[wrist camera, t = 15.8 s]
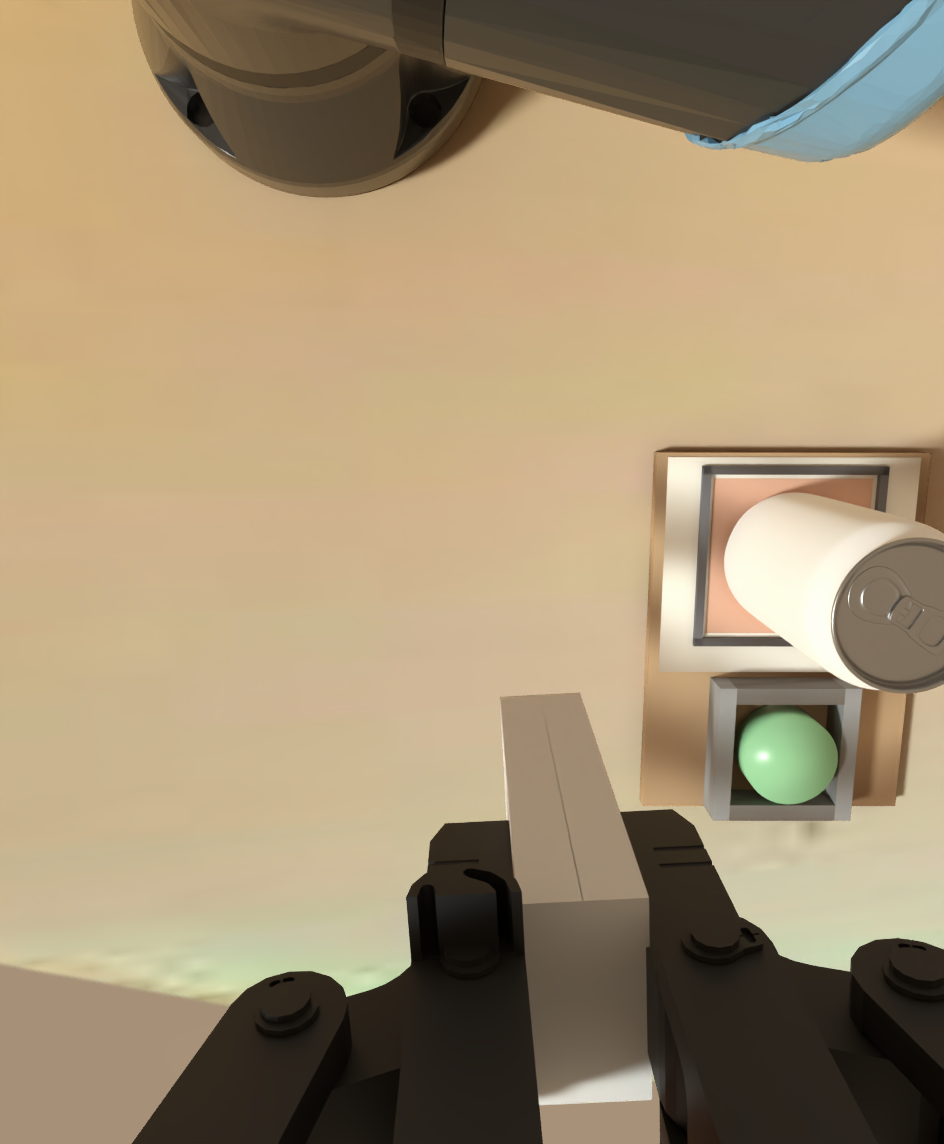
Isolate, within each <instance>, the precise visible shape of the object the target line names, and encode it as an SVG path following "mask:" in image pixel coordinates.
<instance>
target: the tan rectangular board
mask: <svg viewBox="0 0 944 1144" xmlns="http://www.w3.org/2000/svg"><path fill="white" fill-rule="evenodd" d="M930 460H931V453H923V452H654V472H653V496H652V520H651V543H650V567H649V590H648V614H647V638H646V661H645V685H644V709H643V732H642V756H641V779H640V801H641V803H642V805H643V806H705V808H706V810H707V812H708V813H709V815H710V817H711V818H712V820H713V821H850V819H851V808H852V806H895V801H896V792H897V782H898V772H899V762H900V753H901V743H902V733H903V723H904V714H905V704H906V694H899V693H891V692H886V691H882V690H872V689H866V688H862V687H858V686H855V685H852V684H850V683H848V682H846V681H844V680H841V679H840V678H838V677H836V676H835V675H833V674H832V673H830V672H829V671H827V670H826V669H824V668H823V667H821V666H820V665H819V664H817V663H816V662H814V661H813V660H812V659H810V658H809V657H808V656H806V655H805V654H803V653H802V652H801V651H799V650H798V649H797V648H795V647H794V646H793V645H791V644H790V643H789V642H787V641H786V640H785V639H783V638H782V637H780V636H779V635H778V634H776V633H775V632H774V631H772V630H771V629H770V628H768V627H767V626H766V625H764V624H763V623H762V622H760V621H759V620H758V619H757V618H755V617H754V616H753V615H751V614H750V613H749V612H748V611H747V610H745V609H744V608H743V607H742V606H741V605H740V604H739V602H738V601H737V600H736V599H735V597H734V596H733V594H732V592H731V590H730V588H729V586H728V583H727V580H726V576H725V570H724V555H725V550H726V546H727V543H728V540H729V537H730V535H731V533H732V531H733V529H734V527H735V525H736V524H737V522H738V521H739V519H740V518H741V517H742V516H743V515H744V514H745V513H746V512H747V511H748V510H749V509H750V508H752V507H753V506H754V505H756V504H758V503H759V502H761V501H763V500H765V499H767V498H770V497H772V496H775V495H779V494H784V493H808V494H813V495H818V496H822V497H826V498H830V499H834V500H838V501H842V502H846V503H850V504H854V505H858V506H861V507H865V508H869V509H873V510H877V511H880V512H884V513H888V514H892V515H895V516H899V517H903V518H906V519H910V520H913V521H917V522H920V523H923V524H924V518H925V509H926V499H927V489H928V479H929V470H930ZM767 705H793V706H796V707H798V708H801V709H802V710H804V711H805V712H807V713H808V714H809V715H810V716H811V717H812V718H813V719H815V720H816V721H817V722H818V723H819V724H820V725H821V726H822V727H823V728H824V729H826V730H827V731H828V733H829V734H830V735H831V737H832V738H833V740H834V742H835V744H836V748H837V753H838V763H837V768H836V772H835V774H834V776H833V779H832V780H831V782H830V783H829V785H828V786H827V787H826V788H825V789H824V790H823V791H822V792H821V793H820V794H818V795H817V796H815V797H814V798H812V799H810V800H808V801H805V802H802V803H797V804H780V803H776V802H773V801H770V800H768V799H766V798H764V797H763V796H761V795H760V794H759V793H758V792H757V791H756V790H755V789H754V788H753V786H752V785H751V784H750V782H749V781H748V780H747V778H746V777H745V776H744V774H743V773H742V772H741V770H740V769H739V767H738V765H737V763H736V761H735V757H734V752H733V750H734V738H735V735H736V732H737V730H738V728H739V726H740V725H741V723H742V722H743V721H744V719H745V718H746V717H747V716H749V715H750V714H751V713H752V712H754V711H755V710H757V709H759V708H761V707H764V706H767Z"/></svg>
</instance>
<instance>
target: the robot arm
mask: <svg viewBox="0 0 944 1144" xmlns="http://www.w3.org/2000/svg"><path fill="white" fill-rule="evenodd" d="M132 7H133V13H134V19H135V24H136V28H137V32H138V36H139V39H140V42H141V45H142V49H143V51H144V54H145V56H146V59H147V62H148V64H149V66H150V68H151V70H152V73H153V75H154V77H155V79H156V81H157V83H158V84H159V86H160V88H161V90H162V92H163V94H164V95H165V97H166V98H167V100H168V101H169V103H170V104H171V106H172V107H173V109H174V110H175V111H176V113H177V114H178V115H179V117H180V118H181V119H182V120H183V121H184V123H185V124H186V125H187V126H188V127H189V128H190V129H191V130H192V131H193V132H194V133H195V134H196V135H197V136H198V137H199V138H200V139H201V140H202V141H203V142H204V143H205V144H206V146H207V147H208V148H209V149H210V150H212V151H213V152H214V153H215V154H216V155H217V156H218V157H220V158H221V159H222V160H223V161H225V162H226V163H227V164H229V165H230V166H231V167H233V168H234V169H236V170H237V171H239V172H240V173H242V174H244V175H246V176H247V177H249V178H251V179H253V180H255V181H257V182H259V183H261V184H264V185H266V186H269V187H271V188H274V189H277V190H280V191H284V192H287V193H292V194H297V195H302V196H310V197H343V196H351V195H356V194H361V193H365V192H369V191H372V190H375V189H378V188H381V187H384V186H386V185H388V184H391V183H393V182H395V181H397V180H399V179H401V178H402V177H404V176H406V175H408V174H409V173H411V172H412V171H414V170H415V169H417V168H418V167H420V166H421V165H422V164H423V163H425V162H426V161H427V160H429V159H430V158H431V157H432V156H433V155H434V154H435V153H436V152H437V151H438V150H439V149H440V148H441V147H442V146H443V145H444V144H445V143H446V142H447V141H448V139H449V138H450V137H451V136H452V134H453V133H454V132H455V131H456V129H457V128H458V126H459V125H460V123H461V122H462V120H463V119H464V117H465V115H466V114H467V112H468V110H469V109H470V107H471V105H472V103H473V101H474V98H475V96H476V94H477V92H478V89H479V87H480V84H481V81H482V78H487V79H491V80H494V81H498V82H502V83H505V84H509V85H513V86H516V87H520V88H523V89H527V90H531V91H534V92H538V93H542V94H545V95H549V96H553V97H556V98H560V99H563V100H567V101H571V102H574V103H578V104H582V105H585V106H589V107H593V108H596V109H600V110H604V111H607V112H611V113H614V114H618V115H622V116H625V117H629V118H633V119H636V120H640V121H644V122H647V123H651V124H654V125H658V126H662V127H665V128H669V129H673V130H676V131H680V132H684V133H685V135H686V137H687V139H688V140H689V141H691V142H692V143H694V144H697V145H699V146H701V147H705V148H708V149H715V150H721V149H737V148H744V149H749V150H753V151H757V152H762V153H766V154H771V155H775V156H780V157H784V158H789V159H793V160H797V161H803V162H824V161H829V160H832V159H834V158H843V157H848V156H850V155H852V154H857V153H861V152H864V151H867V150H869V149H871V148H873V147H875V146H877V145H878V144H880V143H882V142H884V141H886V140H887V139H889V138H890V137H892V136H893V135H895V134H896V133H898V132H900V131H901V130H903V129H904V128H905V127H907V126H908V125H910V124H911V123H912V122H914V121H915V120H916V119H917V118H919V117H920V116H921V115H922V114H924V113H925V112H926V111H927V110H928V109H929V108H931V107H932V106H933V105H934V104H935V103H936V102H937V101H939V100H940V99H941V98H942V97H943V96H944V0H132ZM500 707H501V725H502V744H503V763H504V781H505V800H506V818H507V820H505V821H485V822H466V823H447V824H444V826H443V827H442V828H441V829H440V830H439V832H438V833H437V834H436V835H435V836H434V838H433V839H432V840H431V841H430V849H429V859H428V870H427V873H426V874H424V875H423V876H422V877H421V878H420V879H418V880H417V881H416V882H415V883H413V884H412V886H411V888H410V890H409V893H408V895H407V897H406V901H407V913H408V925H409V937H410V949H411V966H410V967H409V968H408V969H406V970H405V971H404V972H403V973H402V974H401V975H400V976H398V977H397V978H395V979H393V980H392V981H390V982H388V983H387V984H385V985H382V986H379V987H377V988H374V989H372V990H369V991H366V992H362V993H359V994H355V995H352V996H348V997H346V995H345V992H344V989H343V987H342V986H341V985H340V984H339V983H337V982H336V981H335V980H334V979H333V978H331V977H330V976H326V975H323V974H319V973H316V972H312V971H301V972H287V973H283V974H280V975H276V976H272V977H269V978H266V979H264V980H262V981H261V982H259V983H257V984H255V985H253V986H252V987H250V988H248V989H246V990H245V991H244V992H243V993H242V994H241V995H240V996H239V997H238V998H237V999H236V1000H235V1001H234V1002H233V1003H232V1004H231V1006H230V1007H229V1009H228V1010H227V1012H226V1013H225V1014H224V1016H223V1017H222V1018H221V1020H220V1021H219V1023H218V1024H217V1025H216V1027H215V1028H214V1030H213V1031H212V1033H211V1034H210V1035H209V1037H208V1038H207V1039H206V1041H205V1042H204V1044H203V1045H202V1046H201V1048H200V1049H199V1051H198V1052H197V1053H196V1055H195V1056H194V1058H193V1059H192V1060H191V1062H190V1063H189V1064H188V1066H187V1067H186V1069H185V1070H184V1071H183V1073H182V1074H181V1076H180V1077H179V1079H178V1080H177V1081H176V1083H175V1084H174V1086H173V1087H172V1088H171V1090H170V1091H169V1092H168V1094H167V1095H166V1097H165V1098H164V1099H163V1101H162V1102H161V1104H160V1105H159V1107H158V1108H157V1109H156V1111H155V1112H154V1113H153V1115H152V1116H151V1118H150V1119H149V1120H148V1122H147V1123H146V1125H145V1126H144V1127H143V1129H142V1130H141V1132H140V1133H139V1134H138V1136H137V1137H136V1139H135V1140H134V1141H133V1143H132V1144H543V1143H542V1142H543V1141H542V1131H541V1121H540V1109H539V1105H552V1104H574V1103H596V1102H616V1101H638V1100H652V1071H653V1075H654V1079H655V1083H656V1087H657V1091H658V1094H659V1098H660V1144H944V950H943V949H941V948H938V947H935V946H932V945H930V944H927V943H924V942H919V941H914V940H908V939H900V938H894V939H881V940H874V941H872V942H870V943H867V944H865V945H863V946H860V947H859V948H858V949H857V951H856V952H855V954H854V955H853V956H852V958H851V968H850V972H848V971H842V970H836V969H830V968H824V967H818V966H813V965H808V964H804V963H800V962H796V961H793V960H790V959H788V958H785V957H782V956H780V955H779V954H778V952H777V950H776V948H775V946H774V944H773V943H772V941H771V940H770V939H769V938H768V937H767V935H766V934H765V933H764V932H763V931H762V930H761V929H760V928H759V927H757V926H755V925H754V924H752V923H750V922H749V921H747V920H745V919H744V918H740V917H739V916H738V914H737V912H736V910H735V907H734V905H733V903H732V901H731V899H730V897H729V895H728V893H727V891H726V889H725V887H724V885H723V883H722V881H721V879H720V877H719V875H718V873H717V871H716V869H715V867H714V865H712V861H711V859H710V857H709V855H708V853H707V851H706V849H704V845H703V843H702V841H701V839H700V837H699V834H698V832H697V830H696V828H695V826H694V825H693V824H691V823H690V822H689V821H687V820H686V819H685V818H683V817H682V816H681V815H679V814H678V813H677V812H675V811H674V810H673V809H669V810H650V811H631V812H620V810H619V808H618V805H617V802H616V799H615V796H614V793H613V790H612V787H611V784H610V781H609V778H608V775H607V772H606V769H605V766H604V763H603V760H602V757H601V754H600V751H599V748H598V745H597V742H596V739H595V736H594V733H593V731H592V728H591V725H590V722H589V719H588V716H587V713H586V710H585V707H584V704H583V701H582V698H581V695H580V693H564V694H546V695H527V696H509V697H500ZM651 1067H652V1070H651Z"/></svg>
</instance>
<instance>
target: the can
mask: <svg viewBox="0 0 944 1144" xmlns="http://www.w3.org/2000/svg"><path fill="white" fill-rule="evenodd" d="M724 570H725V576H726V580H727V583H728V586H729V588H730V590H731V592H732V594H733V596H734V597H735V599H736V600H737V601H738V602H739V604H740V605H741V606H742V607H743V608H744V609H745V610H747V611H748V612H749V613H750V614H751V615H753V616H754V617H755V618H757V619H758V620H759V621H760V622H762V623H763V624H764V625H766V626H767V627H768V628H770V629H771V630H772V631H774V632H775V633H776V634H778V635H779V636H780V637H782V638H783V639H785V640H786V641H787V642H789V643H790V644H791V645H793V646H794V647H795V648H797V649H798V650H799V651H801V652H802V653H803V654H805V655H806V656H808V657H809V658H810V659H812V660H813V661H814V662H816V663H817V664H819V665H820V666H821V667H823V668H824V669H826V670H827V671H829V672H830V673H832V674H833V675H835V676H836V677H838V678H840V679H841V680H844V681H846V682H848V683H850V684H852V685H855V686H858V687H862V688H866V689H872V690H882V691H886V692H891V693H899V694H909V693H918V692H923V691H927V690H930V689H933V688H936V687H938V686H941V685H943V684H944V533H942V532H940V531H938V530H936V529H934V528H932V527H930V526H928V525H925V524H923V523H920V522H917V521H913V520H910V519H906V518H903V517H899V516H895V515H892V514H888V513H884V512H880V511H877V510H873V509H869V508H865V507H861V506H858V505H854V504H850V503H846V502H842V501H838V500H834V499H830V498H826V497H822V496H818V495H813V494H808V493H784V494H779V495H775V496H772V497H770V498H767V499H765V500H763V501H761V502H759V503H758V504H756V505H754V506H753V507H752V508H750V509H749V510H748V511H747V512H746V513H745V514H744V515H743V516H742V517H741V518H740V519H739V521H738V522H737V524H736V525H735V527H734V529H733V531H732V533H731V535H730V537H729V540H728V543H727V546H726V550H725V555H724Z"/></svg>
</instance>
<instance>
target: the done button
mask: <svg viewBox="0 0 944 1144" xmlns="http://www.w3.org/2000/svg"><path fill="white" fill-rule="evenodd" d="M733 752H734V757H735V761H736V763H737V765H738V767H739V769H740V770H741V772H742V773H743V774H744V776H745V777H746V778H747V780H748V781H749V782H750V784H751V785H752V786H753V788H754V789H755V790H756V791H757V792H758V793H759V794H760V795H761V796H763V797H764V798H766V799H768V800H770V801H773V802H776V803H780V804H797V803H802V802H805V801H808V800H810V799H812V798H814V797H815V796H817V795H818V794H820V793H821V792H822V791H823V790H824V789H825V788H826V787H827V786H828V785H829V783H830V782H831V780H832V779H833V776H834V774H835V772H836V768H837V763H838V753H837V748H836V744H835V742H834V740H833V738H832V737H831V735H830V734H829V733H828V731H827V730H826V729H824V728H823V727H822V726H821V725H820V724H819V723H818V722H817V721H816V720H815V719H813V718H812V717H811V716H810V715H809V714H808V713H807V712H805V711H804V710H802V709H801V708H798V707H796V706H793V705H767V706H764V707H761V708H759V709H757V710H755V711H754V712H752V713H751V714H750V715H749V716H747V717H746V718H745V719H744V721H743V722H742V723H741V725H740V726H739V728H738V730H737V732H736V735H735V738H734V750H733Z"/></svg>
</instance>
